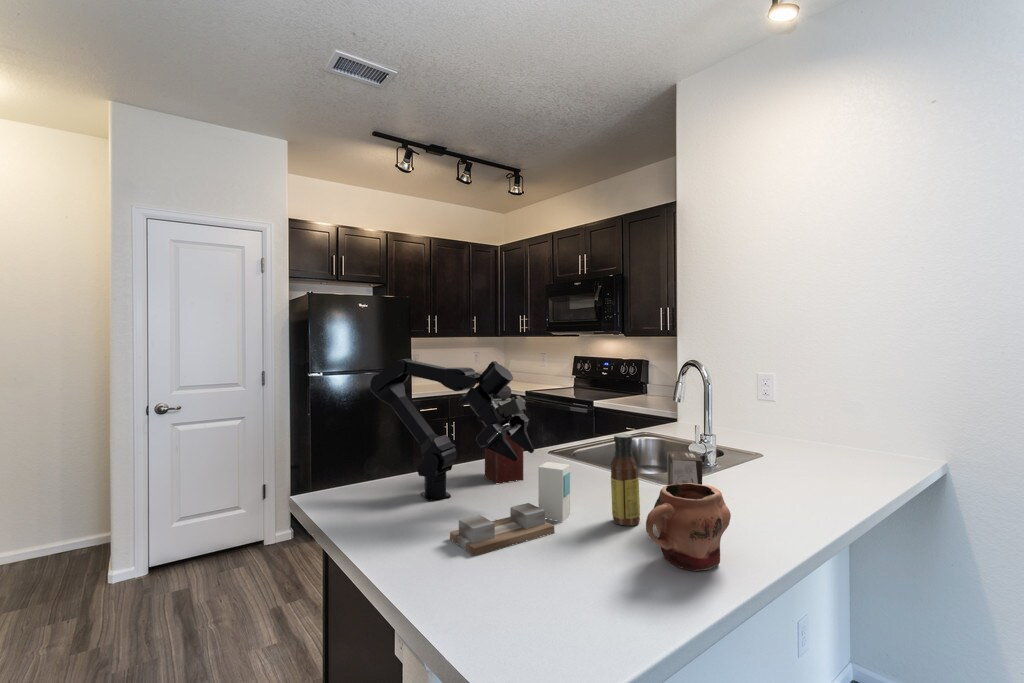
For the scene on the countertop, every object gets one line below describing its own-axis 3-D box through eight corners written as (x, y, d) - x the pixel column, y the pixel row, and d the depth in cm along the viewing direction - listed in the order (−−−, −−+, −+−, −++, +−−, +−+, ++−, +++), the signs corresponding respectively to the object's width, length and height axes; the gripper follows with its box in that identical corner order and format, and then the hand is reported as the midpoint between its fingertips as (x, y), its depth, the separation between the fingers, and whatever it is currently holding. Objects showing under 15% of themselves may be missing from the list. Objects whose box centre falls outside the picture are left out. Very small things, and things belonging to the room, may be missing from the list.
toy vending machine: (507, 470, 157) (507, 382, 156) (523, 480, 147) (523, 385, 146) (481, 474, 153) (481, 383, 153) (496, 484, 143) (496, 386, 142)
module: (538, 518, 116) (538, 466, 116) (546, 511, 120) (546, 461, 120) (563, 522, 113) (563, 469, 113) (570, 515, 118) (570, 464, 118)
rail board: (449, 538, 104) (449, 517, 104) (526, 518, 115) (526, 499, 115) (474, 556, 96) (473, 533, 96) (554, 532, 107) (554, 512, 107)
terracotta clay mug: (681, 593, 82) (681, 509, 82) (624, 565, 92) (624, 490, 92) (746, 561, 93) (746, 487, 93) (690, 539, 103) (690, 473, 103)
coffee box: (703, 537, 105) (703, 460, 105) (671, 534, 106) (671, 459, 106) (696, 521, 114) (696, 451, 114) (666, 519, 115) (666, 449, 115)
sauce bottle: (641, 519, 115) (641, 433, 115) (638, 528, 109) (638, 438, 109) (612, 515, 117) (612, 431, 117) (608, 525, 111) (608, 436, 111)
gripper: (487, 389, 114) (531, 442, 109) (522, 382, 131) (561, 428, 126) (458, 421, 118) (499, 473, 113) (495, 410, 134) (532, 455, 130)
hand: (525, 456), depth 120 cm, fingers open, 9 cm apart
